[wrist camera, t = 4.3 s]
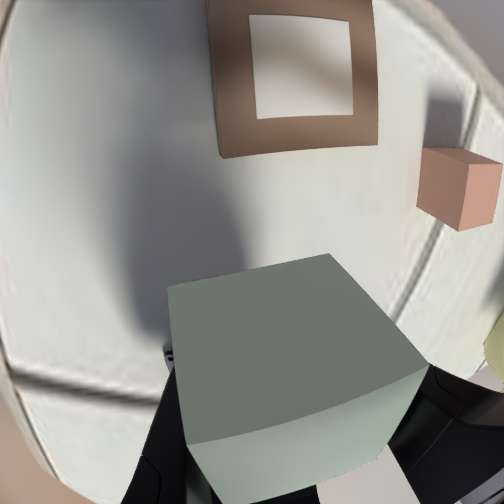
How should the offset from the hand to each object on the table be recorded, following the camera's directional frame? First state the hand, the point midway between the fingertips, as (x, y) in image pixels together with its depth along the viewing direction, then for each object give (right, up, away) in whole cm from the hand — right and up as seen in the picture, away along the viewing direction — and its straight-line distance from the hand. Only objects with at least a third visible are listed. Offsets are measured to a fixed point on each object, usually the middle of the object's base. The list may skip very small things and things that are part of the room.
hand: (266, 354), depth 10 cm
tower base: (+2, +14, +7) cm, 16 cm away
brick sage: (0, +1, +1) cm, 1 cm away
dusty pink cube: (+15, +10, +13) cm, 22 cm away
